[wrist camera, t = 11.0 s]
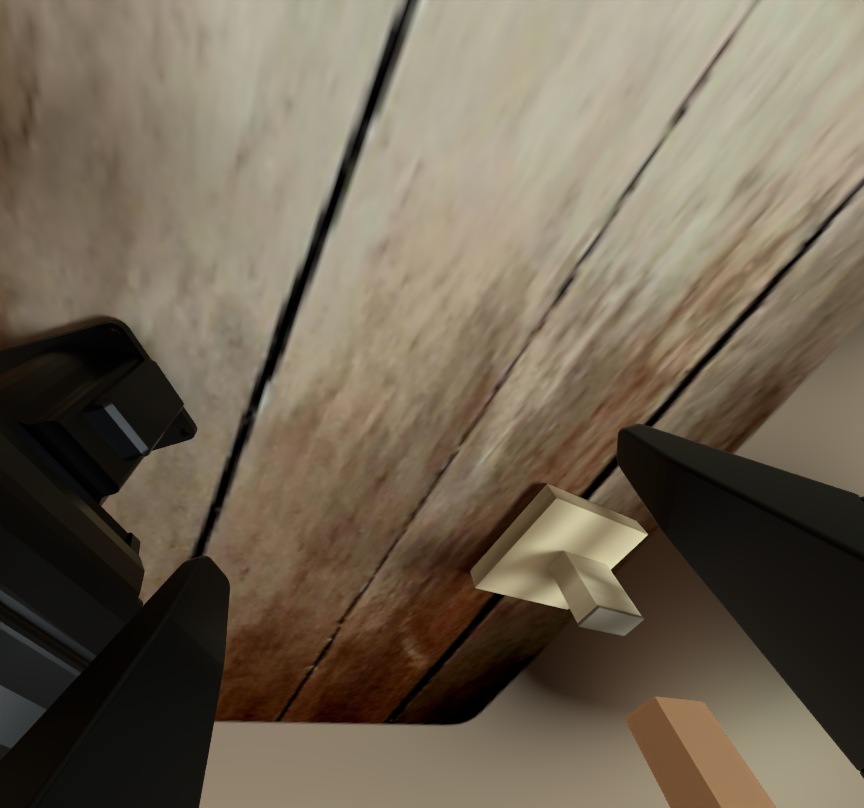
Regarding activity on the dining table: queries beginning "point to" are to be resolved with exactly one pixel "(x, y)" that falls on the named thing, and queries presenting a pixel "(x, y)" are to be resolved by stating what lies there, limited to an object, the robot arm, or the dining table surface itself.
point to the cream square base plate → (565, 560)
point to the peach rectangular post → (693, 757)
